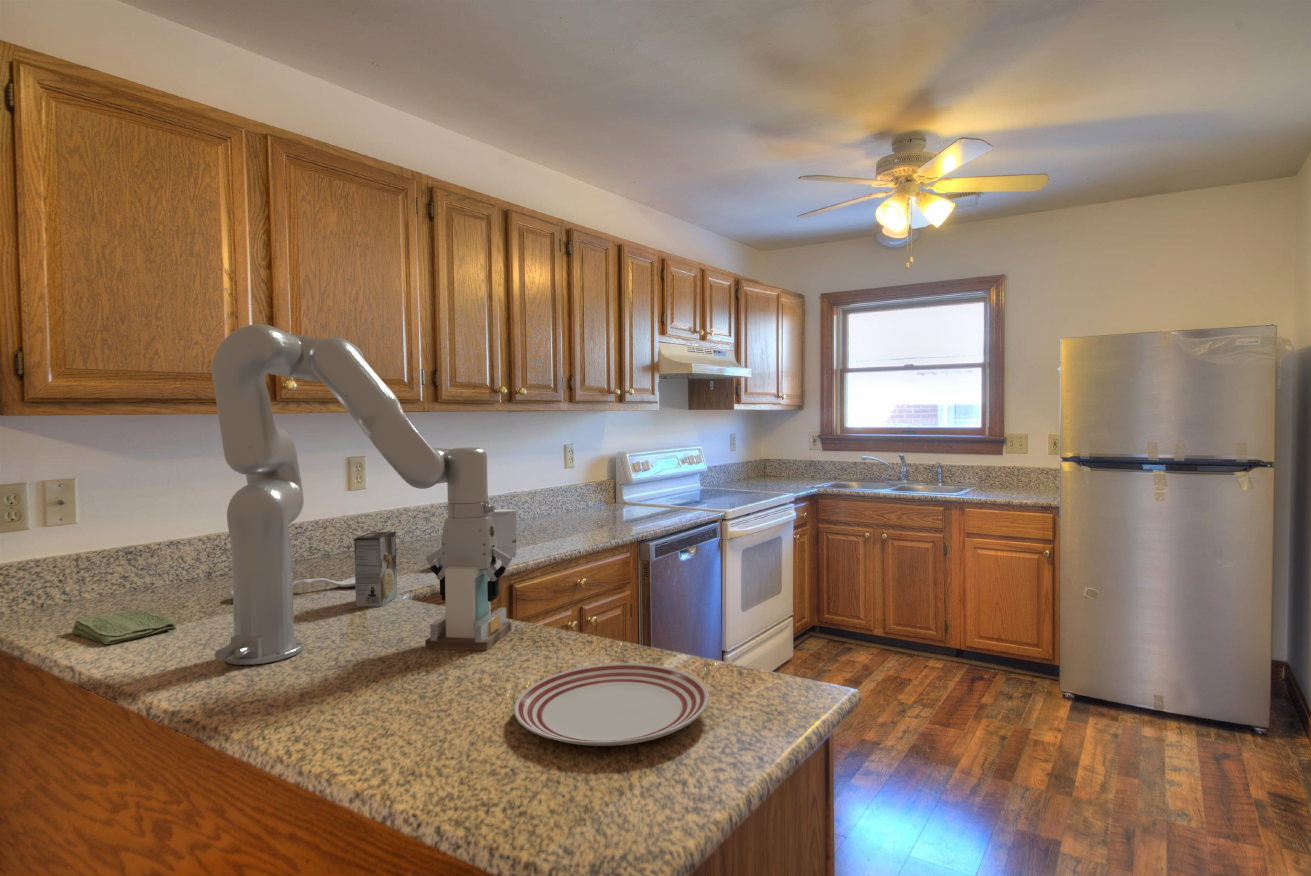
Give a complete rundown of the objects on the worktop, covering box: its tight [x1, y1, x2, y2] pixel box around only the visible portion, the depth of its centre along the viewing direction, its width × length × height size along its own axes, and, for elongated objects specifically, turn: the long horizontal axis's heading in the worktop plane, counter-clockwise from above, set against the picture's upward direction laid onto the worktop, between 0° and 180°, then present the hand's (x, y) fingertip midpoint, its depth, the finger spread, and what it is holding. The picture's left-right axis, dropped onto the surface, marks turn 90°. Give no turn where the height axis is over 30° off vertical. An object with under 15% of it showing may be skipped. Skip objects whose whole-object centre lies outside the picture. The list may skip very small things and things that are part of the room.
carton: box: [444, 566, 492, 638], centre depth 135 cm, size 6×8×13 cm
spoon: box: [229, 576, 355, 597], centre depth 175 cm, size 9×32×4 cm, turn 121°
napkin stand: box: [424, 621, 512, 652], centre depth 135 cm, size 13×12×2 cm
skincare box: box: [488, 508, 517, 557], centre depth 221 cm, size 8×6×15 cm
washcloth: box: [71, 609, 177, 645], centre depth 143 cm, size 13×18×3 cm
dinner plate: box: [513, 662, 710, 747], centre depth 98 cm, size 27×27×3 cm
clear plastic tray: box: [429, 607, 507, 642], centre depth 135 cm, size 13×10×3 cm
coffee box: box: [353, 531, 398, 607], centre depth 165 cm, size 9×6×16 cm
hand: (469, 599), depth 135 cm, fingers open, 9 cm apart
